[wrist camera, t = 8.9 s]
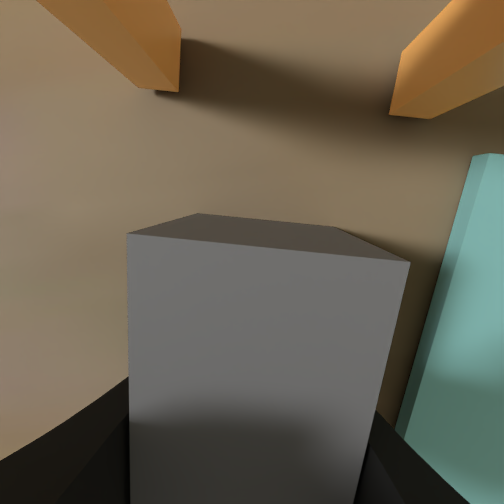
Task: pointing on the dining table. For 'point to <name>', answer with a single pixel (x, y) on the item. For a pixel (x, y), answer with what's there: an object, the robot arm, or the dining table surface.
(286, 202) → the dining table surface
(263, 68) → the dining table surface
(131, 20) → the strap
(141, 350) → the grey box
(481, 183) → the mat
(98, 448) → the robot arm
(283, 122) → the dining table surface
